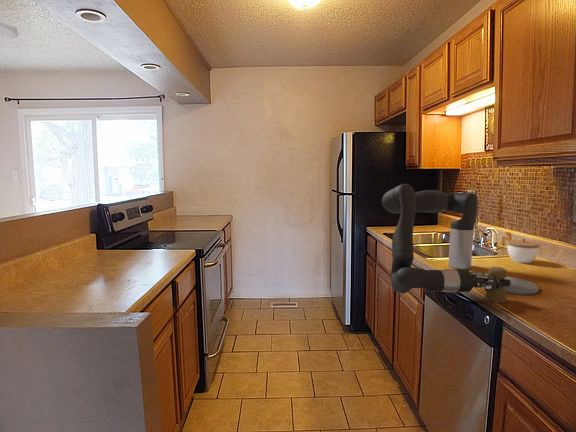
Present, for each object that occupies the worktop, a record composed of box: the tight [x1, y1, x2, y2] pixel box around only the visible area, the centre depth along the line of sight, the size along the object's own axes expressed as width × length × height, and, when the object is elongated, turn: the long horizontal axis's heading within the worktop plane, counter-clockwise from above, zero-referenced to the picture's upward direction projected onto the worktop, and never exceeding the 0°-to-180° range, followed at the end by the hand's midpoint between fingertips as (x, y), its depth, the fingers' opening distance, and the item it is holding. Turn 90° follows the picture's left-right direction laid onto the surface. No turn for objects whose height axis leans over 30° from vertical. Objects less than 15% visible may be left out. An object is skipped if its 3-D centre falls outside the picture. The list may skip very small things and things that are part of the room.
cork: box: [484, 266, 508, 304], centre depth 115 cm, size 6×6×11 cm
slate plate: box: [504, 276, 539, 296], centre depth 129 cm, size 18×18×1 cm
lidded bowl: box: [507, 238, 541, 264], centre depth 164 cm, size 13×13×11 cm
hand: (505, 280), depth 114 cm, fingers closed on cork, 4 cm apart
